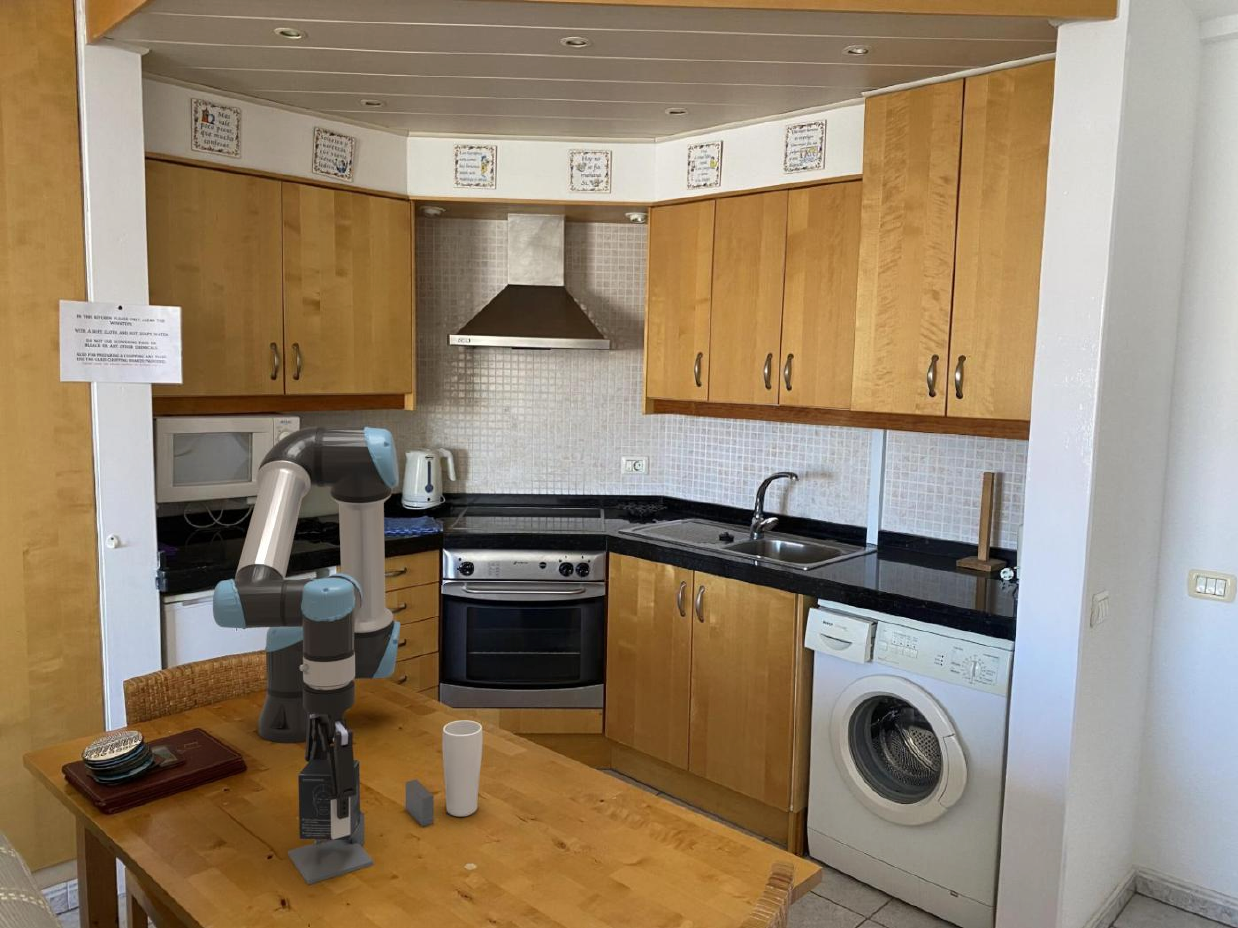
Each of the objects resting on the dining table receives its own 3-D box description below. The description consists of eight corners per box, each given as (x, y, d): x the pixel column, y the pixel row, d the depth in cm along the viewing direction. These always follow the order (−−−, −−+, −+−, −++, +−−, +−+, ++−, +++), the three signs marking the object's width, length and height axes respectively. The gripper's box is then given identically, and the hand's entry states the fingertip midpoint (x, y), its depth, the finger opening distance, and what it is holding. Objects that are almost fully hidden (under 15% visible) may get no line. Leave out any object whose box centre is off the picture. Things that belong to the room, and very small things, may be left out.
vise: (308, 836, 149) (308, 807, 149) (416, 806, 160) (416, 779, 160) (322, 856, 143) (322, 826, 143) (433, 823, 154) (433, 795, 154)
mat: (287, 854, 144) (287, 850, 144) (350, 836, 150) (350, 832, 150) (308, 884, 136) (308, 880, 136) (373, 864, 142) (373, 860, 142)
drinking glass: (473, 822, 155) (474, 737, 154) (435, 817, 157) (436, 733, 155) (487, 803, 162) (488, 721, 160) (450, 798, 163) (451, 717, 161)
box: (360, 823, 145) (360, 759, 144) (349, 841, 139) (349, 775, 138) (311, 821, 145) (310, 757, 144) (298, 840, 139) (297, 773, 138)
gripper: (282, 665, 146) (284, 800, 148) (328, 709, 129) (329, 861, 131) (329, 657, 150) (330, 789, 153) (379, 698, 133) (379, 846, 135)
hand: (330, 822), depth 142 cm, fingers closed on box, 9 cm apart
